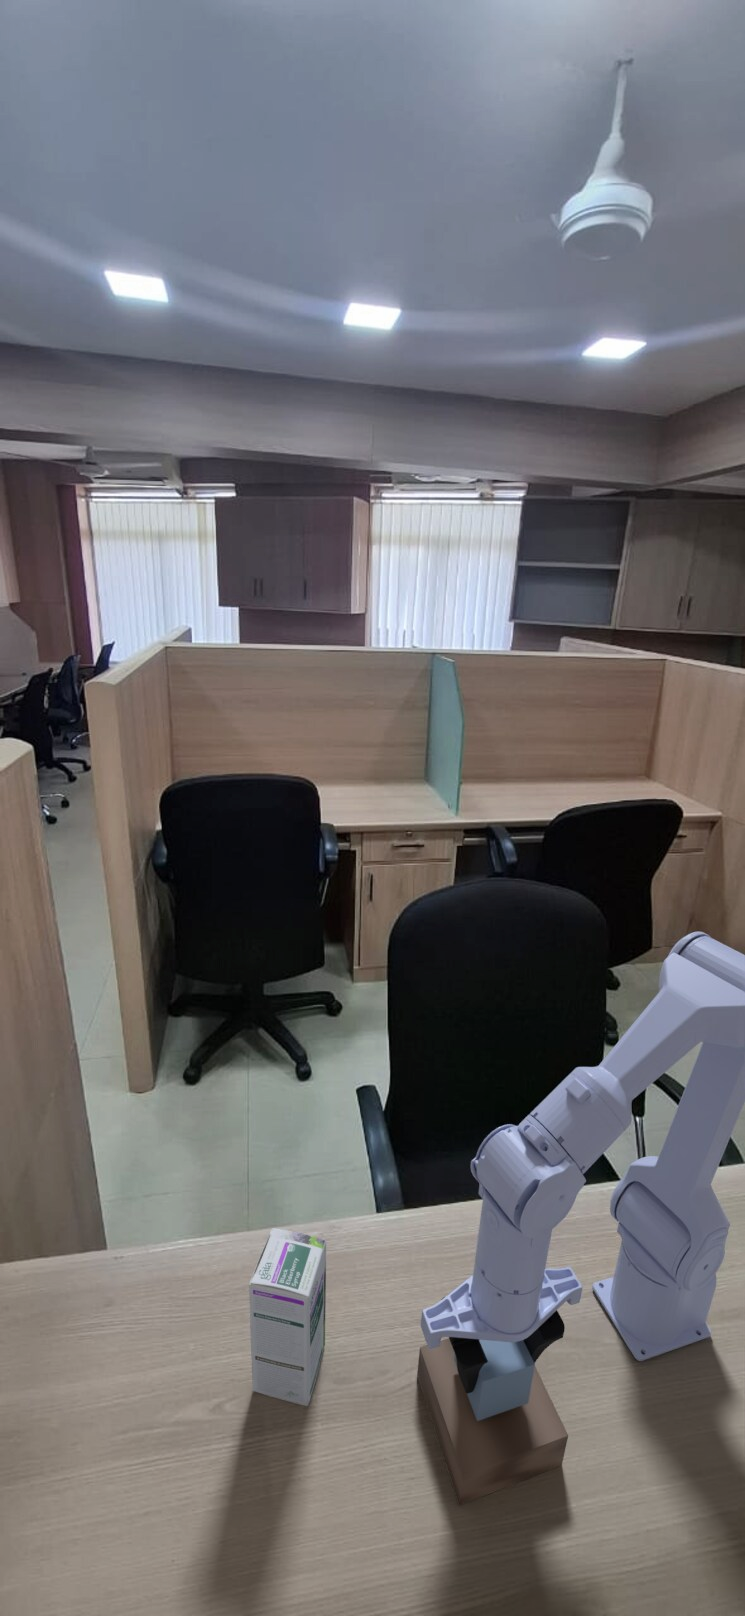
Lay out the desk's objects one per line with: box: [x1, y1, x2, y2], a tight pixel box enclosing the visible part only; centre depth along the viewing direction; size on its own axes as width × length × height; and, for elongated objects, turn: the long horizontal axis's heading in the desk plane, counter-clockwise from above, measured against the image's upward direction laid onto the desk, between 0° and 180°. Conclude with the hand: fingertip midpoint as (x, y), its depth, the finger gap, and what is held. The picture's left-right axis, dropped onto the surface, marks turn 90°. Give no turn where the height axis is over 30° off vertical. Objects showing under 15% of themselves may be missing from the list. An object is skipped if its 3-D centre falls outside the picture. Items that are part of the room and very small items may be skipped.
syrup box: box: [248, 1227, 327, 1407], centre depth 62 cm, size 6×6×14 cm
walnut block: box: [416, 1337, 569, 1506], centre depth 60 cm, size 10×10×4 cm
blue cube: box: [454, 1339, 536, 1421], centre depth 59 cm, size 5×5×5 cm
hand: (493, 1371), depth 59 cm, fingers closed on blue cube, 5 cm apart
